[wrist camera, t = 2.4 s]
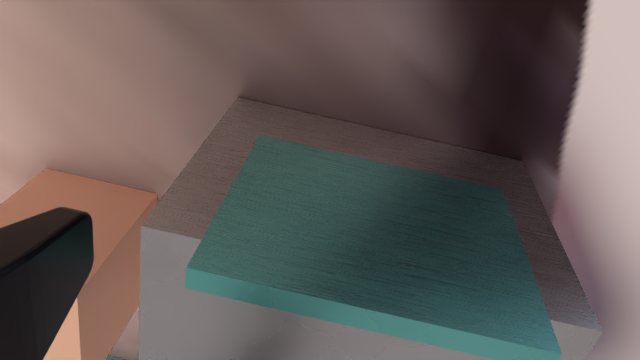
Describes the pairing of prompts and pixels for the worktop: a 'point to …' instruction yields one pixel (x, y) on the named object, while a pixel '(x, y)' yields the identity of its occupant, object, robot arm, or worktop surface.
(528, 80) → the worktop surface
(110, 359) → the teal block
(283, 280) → the panel
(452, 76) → the worktop surface
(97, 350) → the terracotta block
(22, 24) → the worktop surface
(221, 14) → the worktop surface
